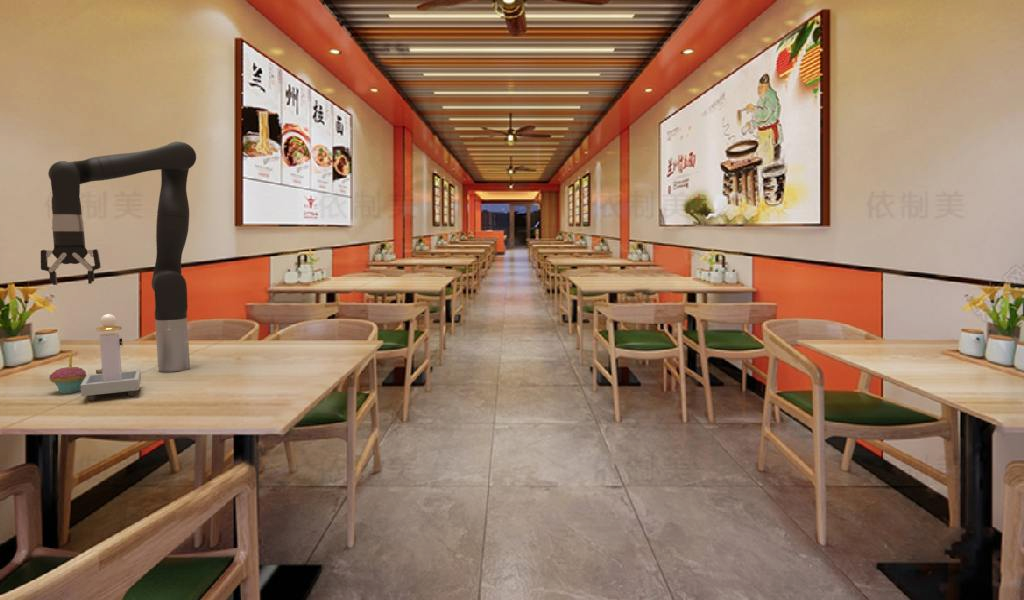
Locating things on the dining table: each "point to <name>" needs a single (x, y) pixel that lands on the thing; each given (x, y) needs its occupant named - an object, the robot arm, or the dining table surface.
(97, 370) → the walnut block
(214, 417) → the dining table surface
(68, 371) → the cupcake
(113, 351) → the perfume bottle
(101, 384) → the cart
